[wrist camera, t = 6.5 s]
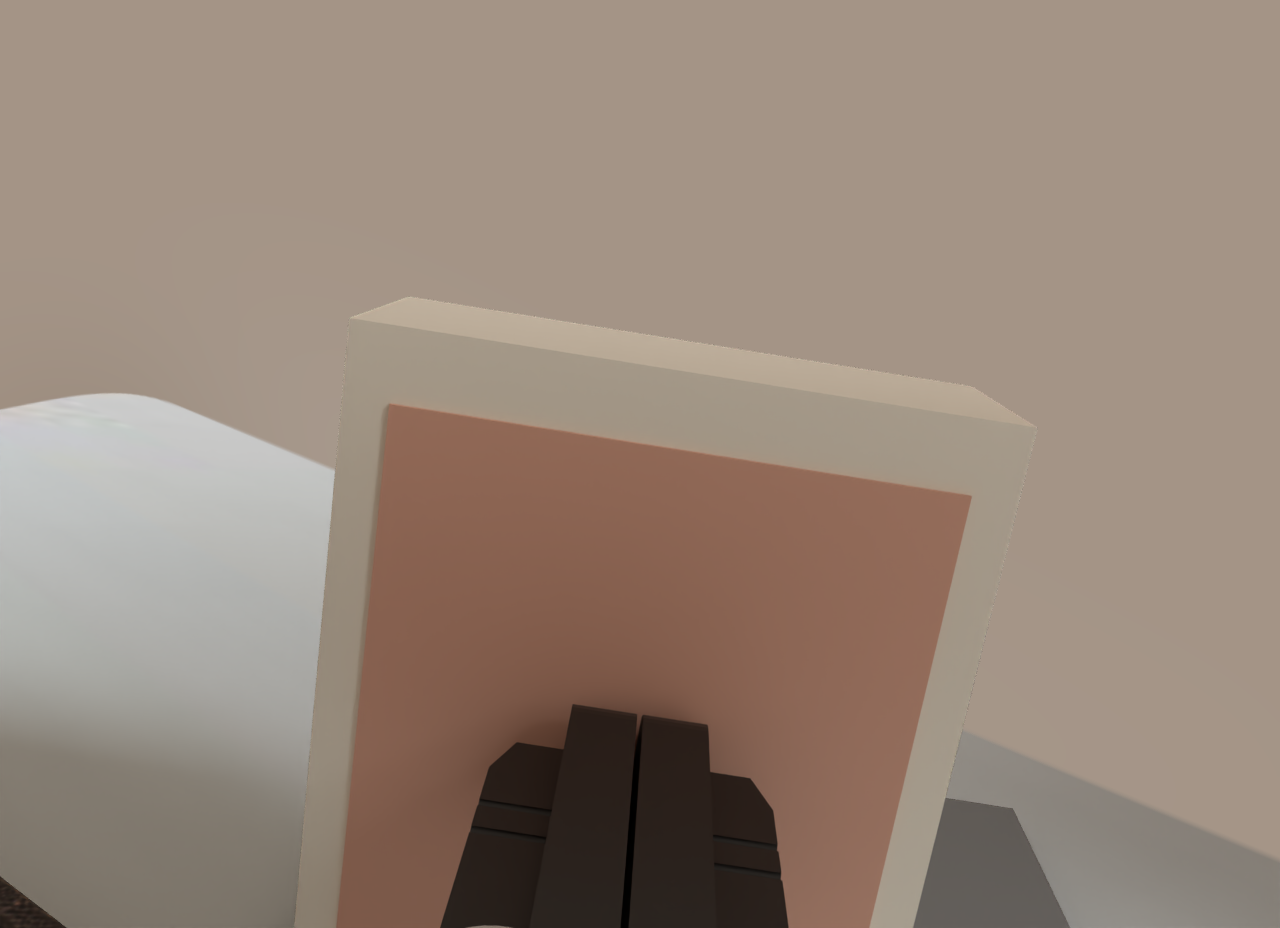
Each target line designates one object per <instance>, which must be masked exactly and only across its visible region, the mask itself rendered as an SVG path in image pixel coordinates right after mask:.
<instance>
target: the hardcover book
mask: <svg viewBox="0 0 1280 928" xmlns="http://www.w3.org/2000/svg"><path fill="white" fill-rule="evenodd" d="M0 928H66V927H65V926H63V925H62V924H61V923H60V922H58V921H57V920H56V919H54V918H53V917H52V916H51V915H49V914H48V913H47V912H45V911H44V910H43V909H41V908H40V907H39V906H38V905H36V904H35V903H34V902H32V901H31V900H30V899H28V898H27V897H26V896H25V895H23V894H22V893H21V892H19V891H18V890H17V889H16V888H14V887H13V886H12V885H10V884H9V883H8V882H6V881H5V880H4V879H3V878H1V877H0Z"/></svg>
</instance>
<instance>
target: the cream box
mask: <svg viewBox="0 0 1280 928" xmlns="http://www.w3.org/2000/svg"><path fill="white" fill-rule="evenodd" d="M1036 432H1037V427H1036V426H1034V425H1032V424H1031V423H1029V422H1028V421H1026V420H1025V419H1023V418H1021V417H1020V416H1018V415H1017V414H1015V413H1013V412H1012V411H1010V410H1009V409H1007V408H1006V407H1004V406H1002V405H1001V404H999V403H997V402H996V401H995V400H993V399H991V398H990V397H988V396H986V395H985V394H983V393H982V392H980V391H979V390H977V389H975V388H974V387H972V386H967V385H961V384H954V383H948V382H942V381H935V380H930V379H923V378H916V377H911V376H904V375H898V374H892V373H886V372H880V371H873V370H867V369H861V368H854V367H848V366H842V365H836V364H829V363H823V362H817V361H810V360H804V359H798V358H792V357H785V356H779V355H772V354H767V353H760V352H754V351H748V350H742V349H735V348H729V347H723V346H716V345H710V344H704V343H697V342H691V341H685V340H679V339H672V338H666V337H660V336H654V335H648V334H641V333H635V332H629V331H623V330H616V329H609V328H604V327H597V326H591V325H585V324H579V323H572V322H566V321H559V320H554V319H547V318H541V317H535V316H529V315H522V314H516V313H510V312H503V311H497V310H491V309H484V308H478V307H472V306H466V305H460V304H453V303H447V302H440V301H434V300H428V299H422V298H415V297H410V296H409V297H406V298H403V299H400V300H398V301H395V302H392V303H389V304H387V305H384V306H381V307H378V308H375V309H372V310H370V311H367V312H364V313H361V314H359V315H356V316H353V317H350V318H349V324H348V336H347V347H346V358H345V370H344V380H343V391H342V402H341V413H340V425H339V435H338V446H337V457H336V468H335V479H334V490H333V501H332V512H331V523H330V534H329V545H328V556H327V568H326V579H325V590H324V601H323V612H322V623H321V634H320V645H319V656H318V667H317V678H316V689H315V700H314V711H313V722H312V733H311V744H310V755H309V766H308V777H307V788H306V800H305V811H304V822H303V833H302V844H301V855H300V866H299V877H298V888H297V899H296V910H295V921H294V928H440V926H441V923H442V919H443V916H444V913H445V910H446V906H447V903H448V900H449V897H450V893H451V890H452V887H453V883H454V880H455V877H456V874H457V870H458V867H459V864H460V860H461V857H462V854H463V851H464V847H465V844H466V841H467V837H468V834H469V832H470V830H471V824H472V821H473V818H474V815H475V811H476V808H477V805H478V804H479V798H480V795H481V792H482V788H483V785H484V782H485V778H486V775H487V772H488V769H489V766H490V765H492V764H493V763H494V762H495V761H496V760H497V759H498V758H499V757H501V756H502V755H503V754H504V753H505V752H506V751H507V750H509V749H510V748H511V747H512V746H513V745H514V744H515V743H516V742H519V743H525V744H532V745H538V746H545V747H551V748H558V749H564V745H565V740H566V735H567V729H568V724H569V719H570V714H571V709H572V704H577V705H583V706H590V707H596V708H602V709H609V710H615V711H622V712H628V713H635V714H637V725H636V738H635V750H636V744H637V738H638V733H639V727H640V723H641V718H642V715H649V716H655V717H662V718H668V719H675V720H681V721H688V722H694V723H700V724H707V725H708V731H709V754H710V772H714V773H720V774H727V775H733V776H740V777H746V778H751V780H752V781H753V783H754V784H755V785H756V787H757V788H758V790H759V791H760V792H761V794H762V795H763V797H764V798H765V799H766V801H767V802H768V804H769V805H770V806H771V808H772V809H773V812H774V819H775V827H776V835H777V842H778V846H777V851H779V858H780V865H781V880H783V888H784V896H785V903H786V911H787V919H788V926H789V928H913V926H914V922H915V918H916V914H917V910H918V906H919V902H920V898H921V894H922V890H923V886H924V882H925V878H926V874H927V870H928V866H929V862H930V858H931V854H932V850H933V846H934V842H935V838H936V834H937V830H938V826H939V822H940V818H941V814H942V810H943V806H944V801H945V797H946V793H947V789H948V785H949V781H950V777H951V773H952V769H953V765H954V761H955V757H956V753H957V749H958V745H959V741H960V737H961V733H962V729H963V725H964V721H965V717H966V713H967V709H968V705H969V701H970V697H971V693H972V689H973V685H974V681H975V677H976V673H977V669H978V665H979V661H980V657H981V653H982V649H983V644H984V641H985V637H986V633H987V629H988V625H989V621H990V617H991V613H992V608H993V605H994V601H995V597H996V593H997V589H998V585H999V580H1000V577H1001V573H1002V569H1003V565H1004V561H1005V556H1006V552H1007V549H1008V545H1009V541H1010V537H1011V533H1012V529H1013V525H1014V520H1015V517H1016V513H1017V509H1018V505H1019V501H1020V497H1021V493H1022V489H1023V485H1024V480H1025V477H1026V472H1027V468H1028V464H1029V460H1030V456H1031V452H1032V448H1033V444H1034V440H1035V436H1036ZM634 756H635V751H634Z"/></svg>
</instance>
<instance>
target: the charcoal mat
mask: <svg viewBox="0 0 1280 928" xmlns="http://www.w3.org/2000/svg"><path fill="white" fill-rule="evenodd" d="M913 928H1070V927H1069V925H1068V923H1067V921H1066V918H1065V916H1064V914H1063V912H1062V910H1061V908H1060V906H1059V904H1058V902H1057V900H1056V898H1055V895H1054V893H1053V891H1052V889H1051V887H1050V885H1049V883H1048V881H1047V879H1046V877H1045V875H1044V873H1043V870H1042V868H1041V866H1040V864H1039V862H1038V860H1037V858H1036V856H1035V854H1034V852H1033V850H1032V848H1031V845H1030V843H1029V841H1028V839H1027V837H1026V835H1025V833H1024V831H1023V829H1022V827H1021V825H1020V823H1019V820H1018V818H1017V816H1016V814H1015V812H1014V810H1013V809H1012V808H1005V807H999V806H993V805H986V804H980V803H974V802H967V801H961V800H955V799H948V798H945V801H944V806H943V810H942V814H941V818H940V822H939V826H938V830H937V834H936V838H935V842H934V846H933V850H932V854H931V858H930V862H929V866H928V870H927V874H926V878H925V882H924V886H923V890H922V894H921V898H920V902H919V906H918V910H917V914H916V918H915V922H914V926H913Z"/></svg>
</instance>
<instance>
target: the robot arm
mask: <svg viewBox="0 0 1280 928" xmlns="http://www.w3.org/2000/svg"><path fill="white" fill-rule="evenodd" d="M636 725H637V714H635V713H628V712H622V711H615V710H609V709H602V708H596V707H590V706H583V705H577V704H572V709H571V714H570V719H569V724H568V729H567V735H566V740H565V745H564V749H558V748H551V747H545V746H538V745H532V744H525V743H519V742H516V743H515V744H514V745H513V746H512V747H511V748H510V749H509V750H507V751H506V752H505V753H504V754H503V755H502V756H501V757H499V758H498V759H497V760H496V761H495V762H494V763H493V764H492V765H490V766H489V769H488V772H487V775H486V778H485V782H484V785H483V788H482V792H481V795H480V798H479V804H478V805H477V808H476V811H475V815H474V818H473V821H472V824H471V830H470V832H469V834H468V837H467V841H466V844H465V847H464V851H463V854H462V857H461V860H460V864H459V867H458V870H457V874H456V877H455V880H454V883H453V887H452V890H451V893H450V897H449V900H448V903H447V906H446V910H445V913H444V916H443V919H442V923H441V926H440V928H789V926H788V919H787V911H786V903H785V896H784V888H783V880H781V865H780V858H779V851H777V846H778V842H777V835H776V827H775V819H774V812H773V809H772V808H771V806H770V805H769V804H768V802H767V801H766V799H765V798H764V797H763V795H762V794H761V792H760V791H759V790H758V788H757V787H756V785H755V784H754V783H753V781H752V780H751V778H746V777H740V776H733V775H727V774H720V773H714V772H710V754H709V731H708V725H707V724H700V723H694V722H688V721H681V720H675V719H668V718H662V717H655V716H649V715H642V718H641V723H640V727H639V733H638V738H637V744H636V750H635V738H636ZM634 751H635V756H634Z"/></svg>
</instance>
